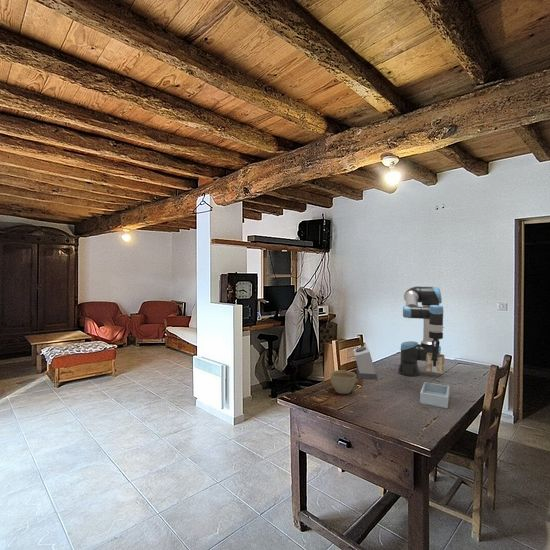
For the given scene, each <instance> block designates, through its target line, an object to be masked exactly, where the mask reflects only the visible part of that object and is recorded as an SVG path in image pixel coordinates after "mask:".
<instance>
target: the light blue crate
mask: <svg viewBox="0 0 550 550" xmlns="http://www.w3.org/2000/svg"><path fill="white" fill-rule="evenodd" d="M449 399H450V385H447V384H440V383H433V382H426V381H424V382H423V384H422V388H421V389H420V393H419V404H423V405H428V406H433V407H438V408H443V409H444V408H445V409H448V407H449Z"/></svg>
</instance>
